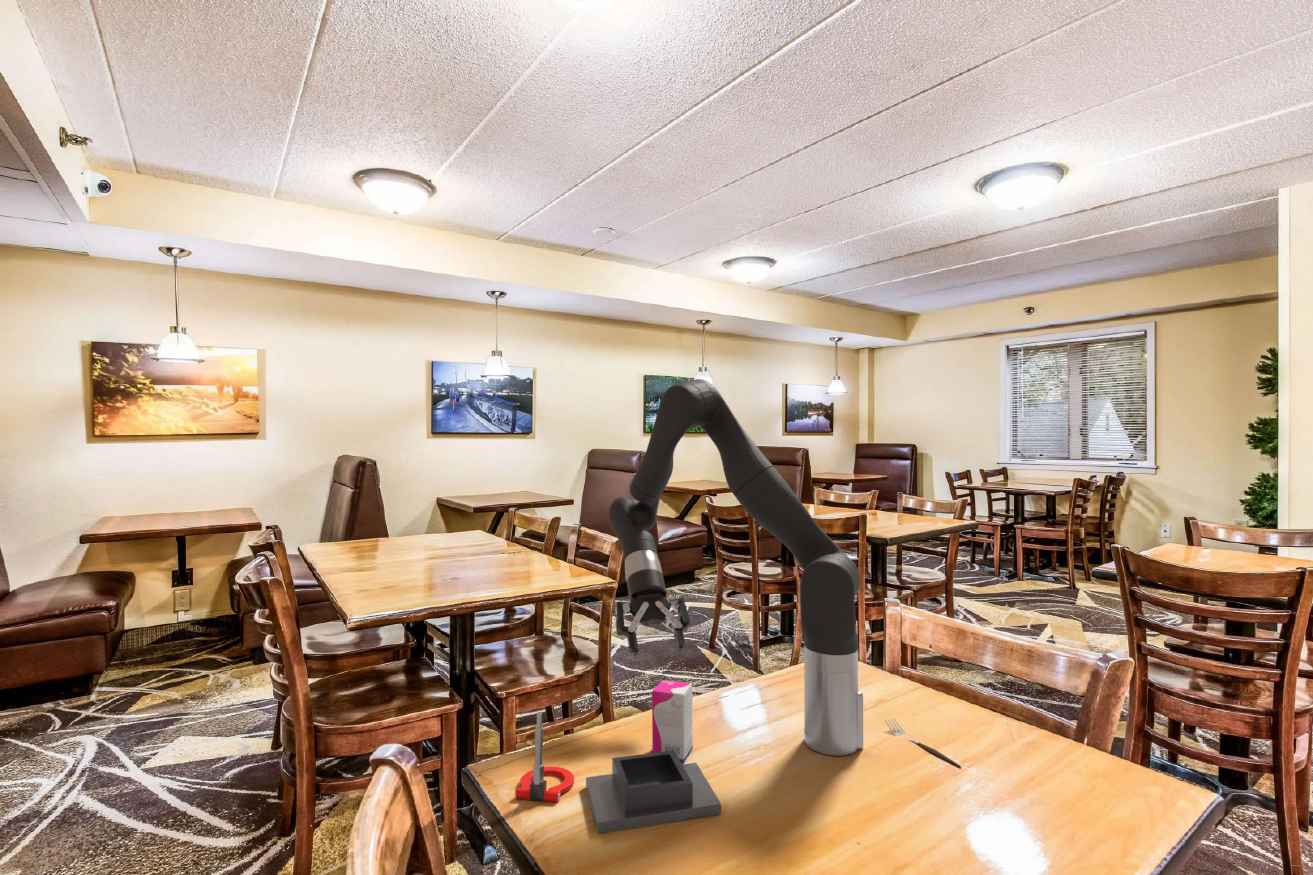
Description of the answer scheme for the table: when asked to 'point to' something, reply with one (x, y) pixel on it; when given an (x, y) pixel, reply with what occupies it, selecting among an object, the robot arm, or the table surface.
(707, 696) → the table surface
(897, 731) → the fork
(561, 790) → the tow hook
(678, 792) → the socket plate
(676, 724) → the supplement box
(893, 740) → the table surface
